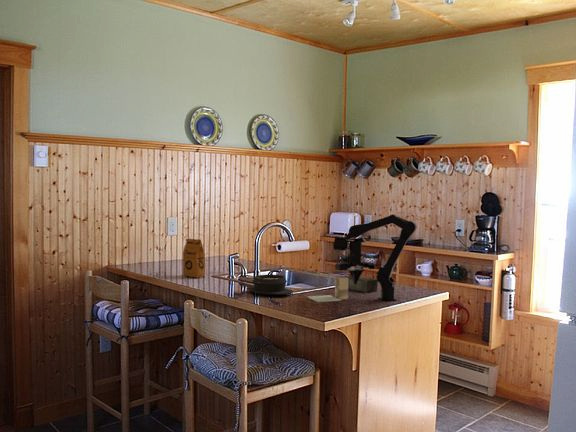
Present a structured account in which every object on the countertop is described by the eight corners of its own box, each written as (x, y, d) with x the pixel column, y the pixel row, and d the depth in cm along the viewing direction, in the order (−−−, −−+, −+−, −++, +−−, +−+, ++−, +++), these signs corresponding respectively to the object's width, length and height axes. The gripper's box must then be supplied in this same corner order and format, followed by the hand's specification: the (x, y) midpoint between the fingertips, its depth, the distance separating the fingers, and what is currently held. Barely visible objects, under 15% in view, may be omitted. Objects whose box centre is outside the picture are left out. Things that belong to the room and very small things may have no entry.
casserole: (237, 293, 271) (237, 276, 270) (262, 288, 285) (262, 272, 285) (277, 300, 255) (277, 282, 255) (301, 294, 270) (301, 277, 270)
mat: (341, 300, 255) (341, 299, 255) (317, 302, 251) (317, 301, 251) (330, 295, 266) (330, 295, 266) (307, 297, 262) (307, 296, 262)
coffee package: (195, 279, 310) (195, 240, 309) (180, 277, 317) (180, 238, 316) (208, 277, 318) (208, 238, 317) (193, 274, 325) (193, 237, 324)
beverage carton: (350, 286, 295) (350, 274, 295) (378, 291, 280) (378, 278, 280) (339, 287, 290) (340, 275, 290) (367, 293, 275) (368, 280, 275)
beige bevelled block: (348, 299, 260) (348, 277, 259) (340, 299, 258) (340, 278, 258) (342, 296, 265) (342, 275, 265) (334, 297, 264) (335, 276, 263)
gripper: (364, 249, 274) (364, 280, 275) (330, 250, 267) (330, 282, 268) (376, 251, 264) (375, 284, 264) (340, 252, 257) (340, 286, 258)
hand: (355, 284), depth 264 cm, fingers closed
